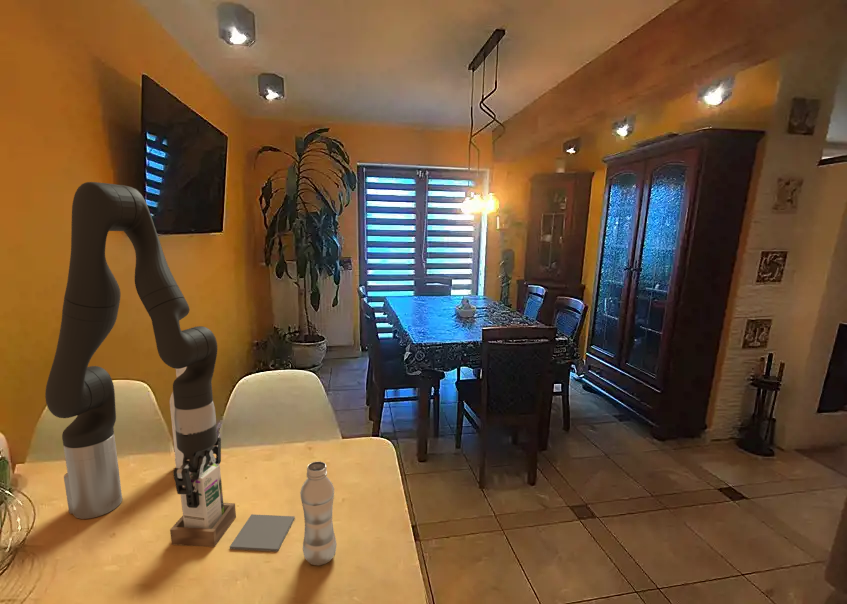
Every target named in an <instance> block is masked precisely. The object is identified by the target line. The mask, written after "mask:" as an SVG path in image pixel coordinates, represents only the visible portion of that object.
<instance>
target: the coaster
mask: <svg viewBox="0 0 847 604" xmlns="http://www.w3.org/2000/svg"><path fill="white" fill-rule="evenodd" d="M295 520H296V517H295V515H293V516H292V515H275V514H273V515H270V514H255V513H254V514H253V513H252V514H250V516H249V517H248V519H247V520H246V522H245V523H244V524H243V526H242V528H241V529H240V530H239V532H238V534H237V535H236V537H235V538H234V540H232V542H231V544H230V546H229V550H239V551H240V550H241V551H259V552H260V551H261V552H277V553H278V552H279V550H280V548H281V546H282V544H283V542H284V541H285V538H286V536H287V534H288V533H289V531H290V529H291V527H292V525H293V523H294V521H295Z"/></svg>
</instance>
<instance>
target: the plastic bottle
mask: <svg viewBox="0 0 847 604" xmlns="http://www.w3.org/2000/svg"><path fill="white" fill-rule="evenodd" d="M327 475H328V470H327V464H326V463H325V462H324V461H321V460H320V461H319V460H317V461H312V462H310V463H309V464H307V467H306V480H305V481H304V482H303V484H302V486H301V489H300V492H299V493H300V500H301V505H302V510H303V511H302V512H303V518H304V519H303V520H304V534H303V536H304V537H303V542H302V552H303V556H304V559H305V560H306V562H308V563H309V564H310V565H314V566H323V565H326V564H327V563H329V562H330V561H331V560H332V559H333V558H334V557H335V555H336V551H337V539H336V535H335V529H334V523H333V509H334V507H333V505H334V499H335V497H334V496H335V486H334V484H333V483H332V481H331V480H330V478H329V477H328V476H327Z"/></svg>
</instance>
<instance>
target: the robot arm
mask: <svg viewBox="0 0 847 604" xmlns="http://www.w3.org/2000/svg"><path fill="white" fill-rule="evenodd" d="M149 208H150V207H148V204H147V201H146V200H145V198H144V196H143V195H142V193H141V192H140V191H139V190H138V189H137V188H134V187H133V186H128V185H124V184H115V183H107V182H97V181H87V182H84V183H81V184H80V185H79V186H78V187H77V189H76V191H75V193H74V195H73V201H72V205H71V227H70V228H71V233H70V234H71V235H70V236H71V237H70V240H71V241H70V255H69V256H70V258H69V266H68V273H67V275H68V276H67V283H66V287H65V292H64V296H63V302H62V303H63V305H62V311H61V313H62V314H61V322H60V329H59V333H58V334H59V335H58V339H57V345H56V350H55V354H54V358H53V362H52V364H51V367H50V368H51V369H50V371H49V375H48V379H47V382H46V385H45V395H44V397H45V404H46V407H47V409H48V411H49V412H50V413H51V414H52V415H53V416H55V417H56V418H59V419H70V418H73V417H76V418H75V419H74V420H73V421H71V423H70V424H68V425H67V426H66V427H65V429H63V431H62V434H61V438H62V444H63V453H64V457H65V458H64V460H65V465H66V472H67V473H65V474H64V475H63V481H64V489H65V495H66V502H67V507H68V514H69V515H70V514H72V515H73V516H74V517H75V518H76V519H82V520H85V519H86V520H89V519H93V518H98V517H100V516H103V515H105V514H108V513H110V512H112V511H114V510H115V509H117V508H118V507H119V506H120V505H121V503H122V502H123V495H122V494H123V493H122V484H121V477H120V469H119V462H118V460H119V459H118V453H117V444H116V437H115V430H114V429H115V428H114V427H115V424H116V421H117V413H116V412H117V409H116V393H115V386H114V381H113V378H112V377H111V375H110V373H109V372H108V371H107V370H106V369H105V368H104V367H101V366H99V365H91V366H89V363H90V361H91V359H92V357H93V356H94V355H95V353H96V352H97V350H98V349H99V347H100V346H101V345H102V344H103V342H104V341H105V340H106V338H107V337H108V335H109V334H110V333H111V332H112V330H113V328H114V326H115V324H116V322H117V320H118V319H117V318H118V313H119V308H120V303H121V289H120V285H119V283H118V281H117V279H116V277H115V275H114V274H113V272H112V270H111V269H110V267H109V265H108V262H107V258H106V244H107V237H108V235H109V232H124V233H125V234H126V236H127V237H128V239H129V241H130V242H131V244H132V246H133V249H134V254H135V269H134V284H135V285H134V286H135V290H136V293H137V294H138V297H139V299H140V301H141V303H142V304H143V307H144V309H145V311H146V312H147V314H148V316H149V317H150V319H151V324H152V330H153V335H154V340H155V345H156V350H157V353H158V356H159V358H160V359H161V361H162V362H163V363H164V364H166V365H167V366H168V367H170V368H172V369H175V370H176V369H180V368H184V367H186V370H185V371H184V373H183V374H181V375H180V376H179V377H175V379H174V381H173V383H172V392H173V396H174V406H175V412H174V421H175V431H176V441H177V448H178V450H180V451H181V452H182V453H183V455H184V456H183V465H182V466H181V467H180V468H176V467H175V468H174V469H173V471H172V473H173V479H174V484H175V488H176V493H177V495H181V494H186V500H187V506H188V507H189V508H197V507H198V506H199V504H200V503H199V492H198V480H199V479H200V478H201V477H202V474H203V469H204V467H206V466H207V465H208V464H219V465H220V464H221V462H222V444H221V443H222V439H221V437H218V429H217V417H216V407H215V403H214V398H213V386H212V385H213V384H212V380H213V377H214V372H215V366H216V361H217V356H218V341H217V339H216V336H215V334H214V333H213V331H212V330H211V329H209V328H208V327H205V326H199V325H198V326H193V327H190V328H186V329H183V330H182V329H181V324H180V321H181V320H182V319H184V318H186V317H187V316H188V315H189V314H190V306H189V303H188V302H187V299H186V298H185V296H184V294H183V293H182V290H181V289H180V287H179V285H178V283H177V281H176V280H175V277H174V275H173V273H172V271H171V269H170V267H169V265H168V261H167V259H166V257H165V253H164V251H163V247H162V244H161V240H160V238H159V235H158V232H157V229H156V227H155V223H154V220H153V218H152V214H151V212H150V209H149ZM214 455H215V456H214ZM189 471H190V472H189ZM191 472H192V473H197V475H190V473H191ZM191 480H194V483H193V486H192V484H191Z"/></svg>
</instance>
